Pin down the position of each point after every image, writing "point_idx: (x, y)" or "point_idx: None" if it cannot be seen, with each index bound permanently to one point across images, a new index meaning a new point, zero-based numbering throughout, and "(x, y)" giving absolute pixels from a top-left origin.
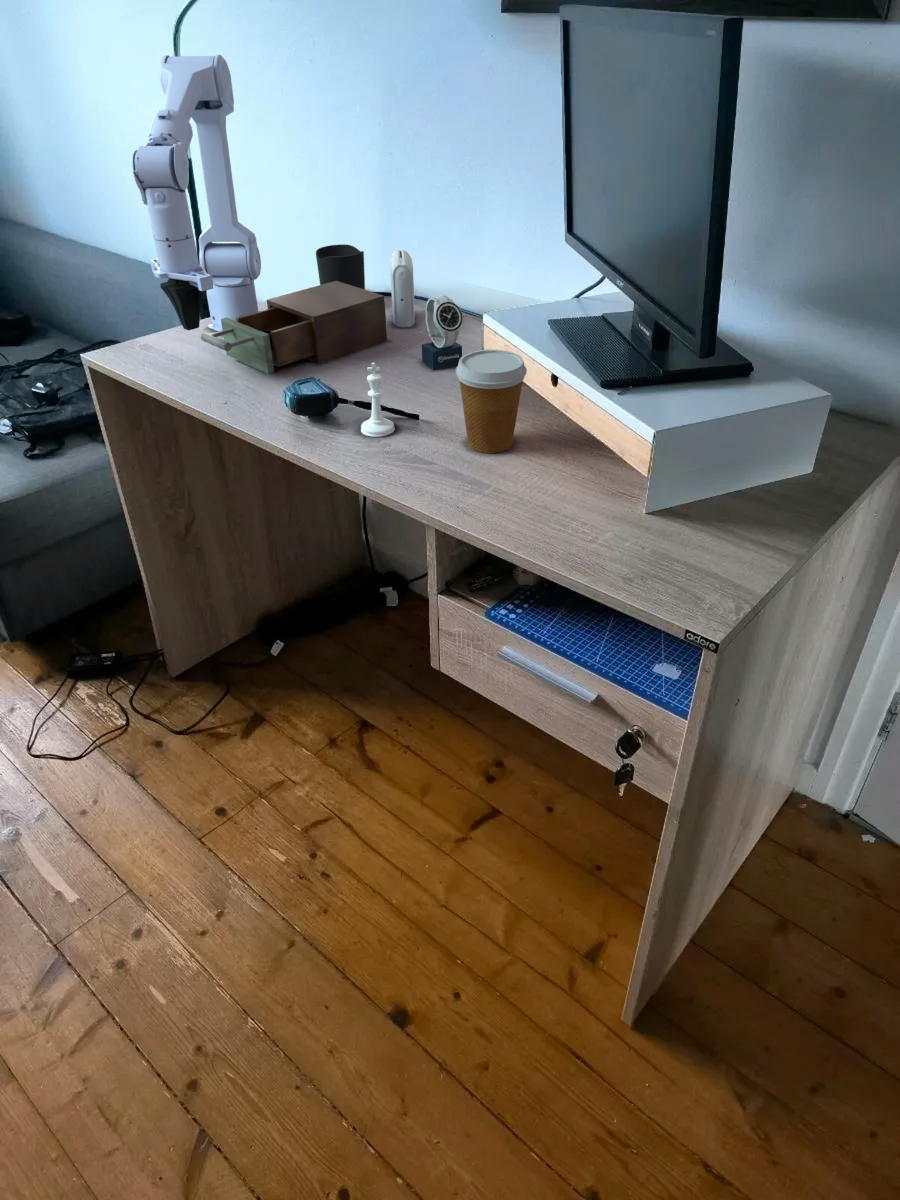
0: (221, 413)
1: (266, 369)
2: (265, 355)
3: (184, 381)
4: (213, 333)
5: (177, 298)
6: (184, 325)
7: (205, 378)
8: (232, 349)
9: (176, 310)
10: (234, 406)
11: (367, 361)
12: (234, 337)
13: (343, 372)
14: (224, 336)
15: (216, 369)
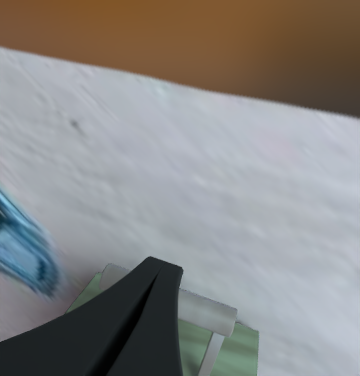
0: (38, 73)
1: (98, 279)
2: (76, 300)
3: (266, 184)
4: (214, 343)
5: (18, 347)
6: (154, 267)
7: (229, 221)
8: (225, 337)
9: (160, 318)
10: (48, 120)
11: None
12: (198, 361)
13: (29, 326)
14: (251, 372)
15: (245, 273)
